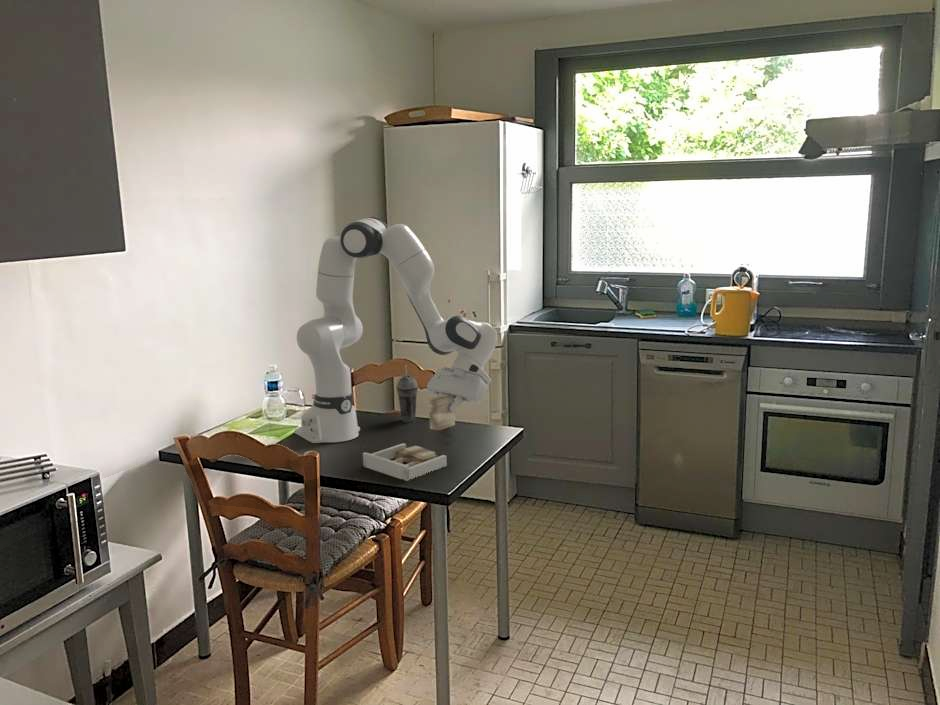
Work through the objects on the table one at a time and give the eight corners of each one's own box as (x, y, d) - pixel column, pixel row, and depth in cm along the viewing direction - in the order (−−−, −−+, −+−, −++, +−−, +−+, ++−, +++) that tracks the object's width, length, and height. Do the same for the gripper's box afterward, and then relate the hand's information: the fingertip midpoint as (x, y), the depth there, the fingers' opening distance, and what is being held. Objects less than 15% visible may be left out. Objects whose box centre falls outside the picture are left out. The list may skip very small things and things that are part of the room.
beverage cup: (421, 417, 271) (419, 361, 267) (416, 423, 264) (415, 365, 260) (400, 417, 272) (398, 361, 268) (395, 423, 264) (393, 365, 260)
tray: (363, 466, 223) (362, 453, 222) (403, 452, 234) (403, 440, 233) (406, 481, 211) (406, 466, 210) (446, 465, 222) (446, 452, 221)
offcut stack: (394, 459, 229) (393, 447, 228) (408, 454, 233) (407, 442, 232) (427, 469, 219) (427, 457, 219) (441, 464, 223) (441, 452, 223)
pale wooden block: (430, 428, 230) (428, 398, 229) (446, 423, 235) (445, 394, 234) (438, 430, 228) (437, 400, 226) (455, 425, 233) (453, 395, 231)
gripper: (435, 360, 241) (413, 398, 236) (485, 369, 228) (463, 408, 223) (446, 372, 245) (425, 409, 240) (495, 381, 232) (474, 420, 227)
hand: (443, 409), depth 231 cm, fingers closed on pale wooden block, 3 cm apart
